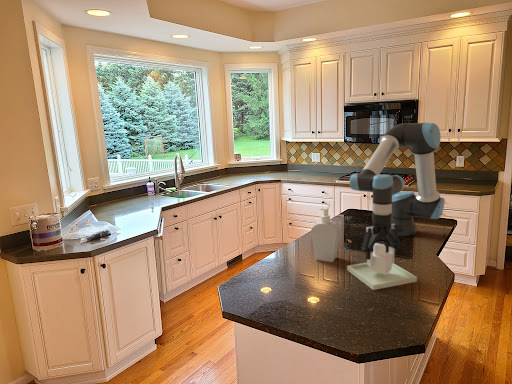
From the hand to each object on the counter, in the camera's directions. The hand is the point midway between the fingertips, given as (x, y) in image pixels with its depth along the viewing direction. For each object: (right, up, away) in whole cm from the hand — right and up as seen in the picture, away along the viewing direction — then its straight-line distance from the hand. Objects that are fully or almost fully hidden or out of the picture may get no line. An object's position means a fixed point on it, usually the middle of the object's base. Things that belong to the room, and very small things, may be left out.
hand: (380, 264), depth 151 cm
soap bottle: (-18, -2, +23) cm, 29 cm away
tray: (0, -5, +1) cm, 5 cm away
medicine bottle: (0, -3, +1) cm, 3 cm away
